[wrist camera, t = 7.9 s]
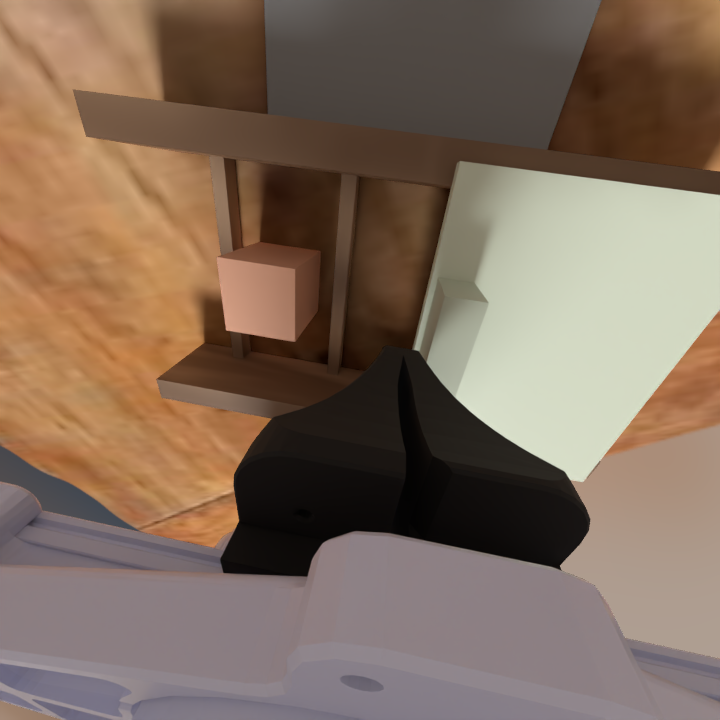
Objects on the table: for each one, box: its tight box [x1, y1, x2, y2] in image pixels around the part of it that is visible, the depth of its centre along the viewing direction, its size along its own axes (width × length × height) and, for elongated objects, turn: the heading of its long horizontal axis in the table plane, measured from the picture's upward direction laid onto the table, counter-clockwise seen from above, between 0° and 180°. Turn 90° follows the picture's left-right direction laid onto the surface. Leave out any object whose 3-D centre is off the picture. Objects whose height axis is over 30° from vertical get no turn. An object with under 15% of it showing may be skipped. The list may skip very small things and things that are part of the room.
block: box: [217, 242, 321, 342], centre depth 18 cm, size 4×4×5 cm
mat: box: [264, 0, 601, 150], centre depth 13 cm, size 9×14×1 cm, turn 83°
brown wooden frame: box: [73, 90, 720, 478], centre depth 17 cm, size 16×28×5 cm, turn 83°
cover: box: [412, 161, 720, 482], centre depth 13 cm, size 14×11×3 cm
